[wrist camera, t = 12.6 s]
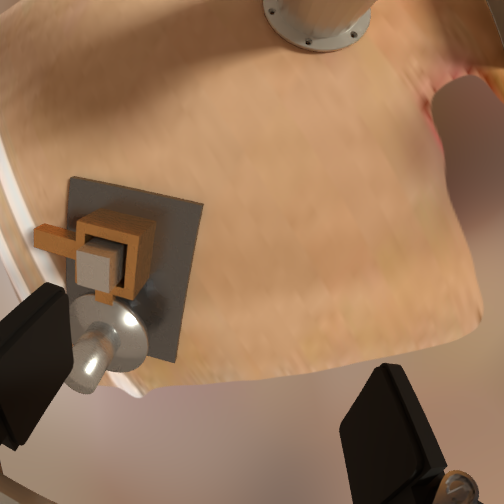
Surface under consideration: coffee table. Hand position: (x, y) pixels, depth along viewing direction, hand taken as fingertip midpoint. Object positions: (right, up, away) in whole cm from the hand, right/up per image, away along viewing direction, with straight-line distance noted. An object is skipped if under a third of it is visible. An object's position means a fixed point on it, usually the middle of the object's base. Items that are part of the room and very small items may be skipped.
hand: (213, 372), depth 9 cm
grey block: (-15, +5, +30) cm, 34 cm away
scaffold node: (-17, 0, +33) cm, 37 cm away
